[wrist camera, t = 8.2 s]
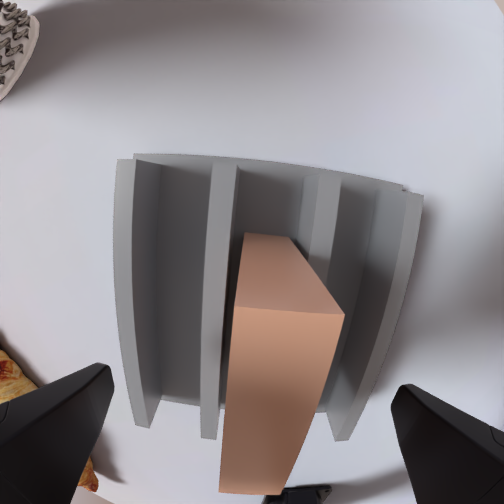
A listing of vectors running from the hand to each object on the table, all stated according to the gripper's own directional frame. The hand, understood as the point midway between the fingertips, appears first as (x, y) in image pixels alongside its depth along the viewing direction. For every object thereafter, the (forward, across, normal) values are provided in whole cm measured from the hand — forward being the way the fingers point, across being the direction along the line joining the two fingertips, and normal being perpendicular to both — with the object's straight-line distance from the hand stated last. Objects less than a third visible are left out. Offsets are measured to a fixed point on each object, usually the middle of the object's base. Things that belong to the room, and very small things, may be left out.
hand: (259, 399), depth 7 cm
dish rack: (+7, 0, 0) cm, 7 cm away
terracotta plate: (+6, 0, 0) cm, 6 cm away
